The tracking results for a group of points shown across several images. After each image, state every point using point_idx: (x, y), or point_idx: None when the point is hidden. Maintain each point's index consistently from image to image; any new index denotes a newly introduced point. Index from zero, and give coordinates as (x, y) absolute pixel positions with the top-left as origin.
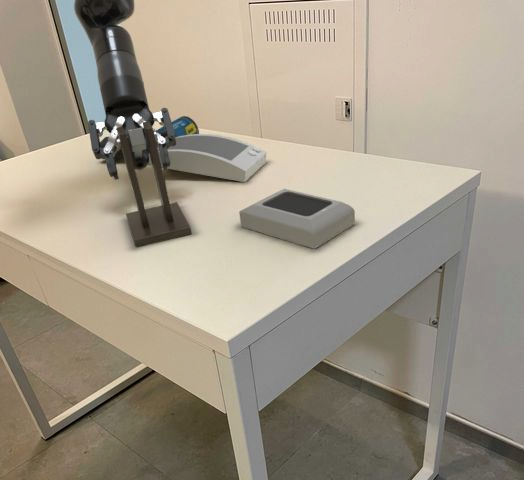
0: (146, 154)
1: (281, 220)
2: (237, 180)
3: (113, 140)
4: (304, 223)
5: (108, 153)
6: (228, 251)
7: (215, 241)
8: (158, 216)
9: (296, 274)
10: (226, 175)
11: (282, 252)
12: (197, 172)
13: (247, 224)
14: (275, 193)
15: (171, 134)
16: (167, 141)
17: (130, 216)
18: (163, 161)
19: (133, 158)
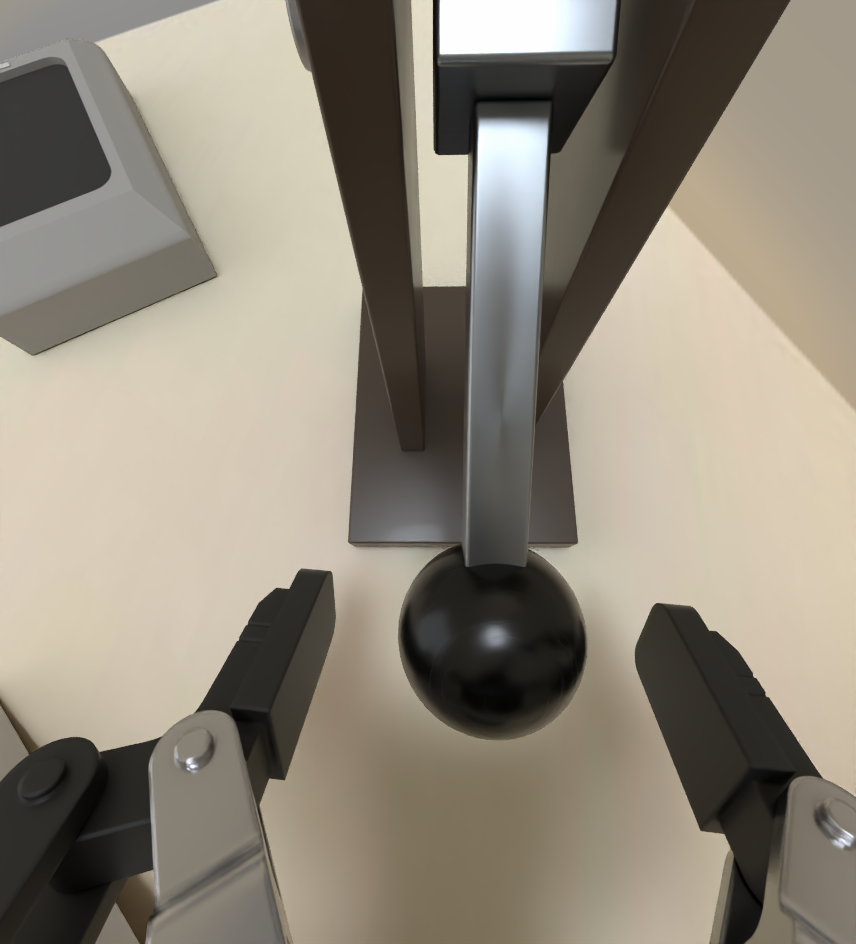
0: (417, 583)
1: (122, 111)
2: (4, 715)
3: (818, 935)
4: (88, 56)
5: (801, 777)
6: (308, 168)
7: (318, 230)
8: (448, 428)
9: (223, 33)
10: (14, 766)
11: (199, 112)
12: (117, 922)
13: (199, 243)
14: (19, 233)
15: (33, 787)
16: (148, 759)
17: (558, 496)
18: (310, 582)
19: (535, 554)
